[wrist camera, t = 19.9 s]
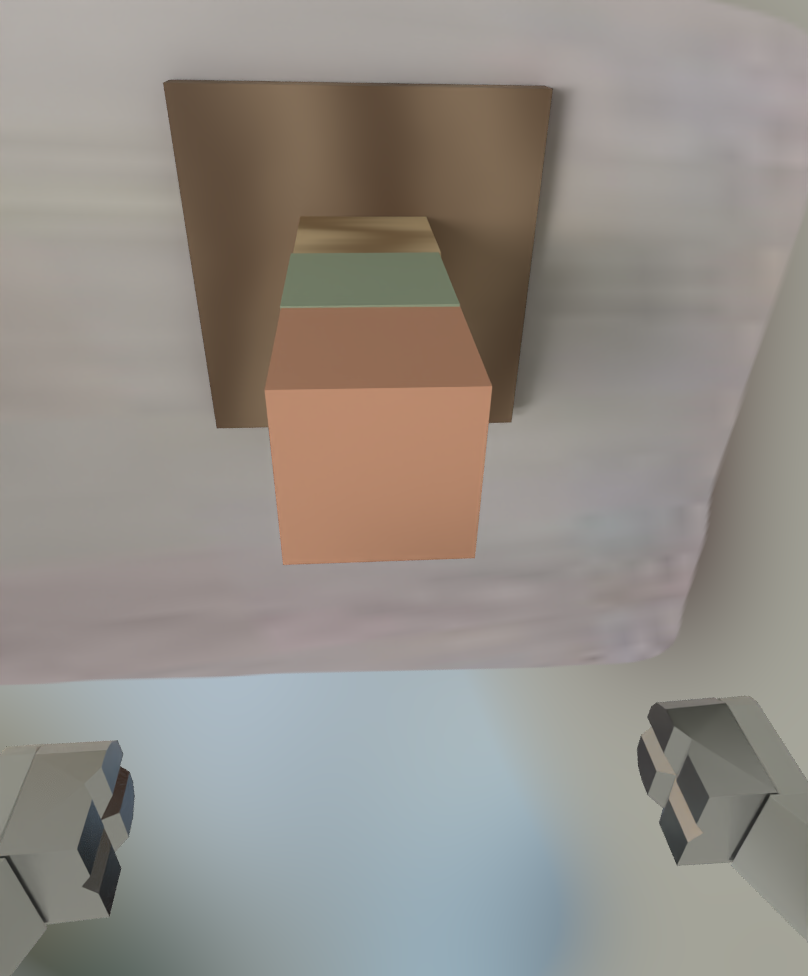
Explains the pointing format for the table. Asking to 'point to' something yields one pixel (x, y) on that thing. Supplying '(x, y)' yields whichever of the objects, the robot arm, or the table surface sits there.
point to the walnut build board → (354, 206)
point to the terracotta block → (377, 433)
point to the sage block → (367, 281)
